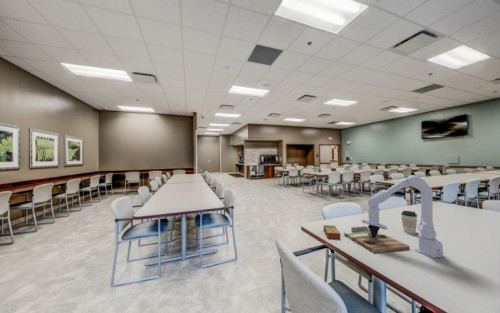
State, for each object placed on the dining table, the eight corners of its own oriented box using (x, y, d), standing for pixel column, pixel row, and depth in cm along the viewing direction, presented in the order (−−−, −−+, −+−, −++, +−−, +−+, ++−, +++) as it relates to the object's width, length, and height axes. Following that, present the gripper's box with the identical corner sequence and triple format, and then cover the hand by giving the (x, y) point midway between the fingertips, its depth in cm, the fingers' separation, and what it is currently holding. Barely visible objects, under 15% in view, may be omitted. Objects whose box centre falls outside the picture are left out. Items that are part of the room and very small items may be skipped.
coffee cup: (403, 233, 133) (402, 212, 133) (400, 228, 141) (399, 209, 141) (419, 235, 129) (419, 213, 129) (415, 230, 137) (414, 210, 137)
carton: (327, 238, 126) (327, 232, 126) (323, 230, 141) (323, 224, 141) (340, 239, 124) (340, 233, 124) (335, 230, 140) (334, 225, 140)
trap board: (409, 249, 109) (409, 240, 109) (373, 253, 105) (373, 244, 105) (373, 232, 135) (373, 225, 135) (343, 234, 131) (343, 227, 131)
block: (378, 237, 121) (377, 230, 121) (369, 236, 122) (369, 229, 123) (375, 234, 126) (374, 227, 126) (366, 234, 127) (366, 226, 127)
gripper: (389, 218, 115) (390, 240, 115) (366, 212, 128) (367, 232, 128) (382, 220, 112) (383, 242, 112) (359, 213, 125) (360, 233, 125)
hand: (374, 237), depth 120 cm, fingers closed
